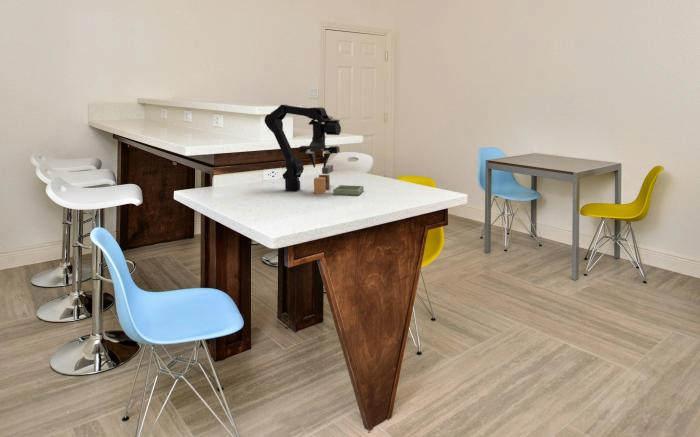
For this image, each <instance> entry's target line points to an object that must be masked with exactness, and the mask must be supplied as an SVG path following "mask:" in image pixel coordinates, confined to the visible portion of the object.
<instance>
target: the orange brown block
mask: <svg viewBox="0 0 700 437" xmlns="http://www.w3.org/2000/svg"><path fill="white" fill-rule="evenodd" d="M326 192H327V190H326V177H319V176H316V177H314V178H313V193H314V194H324V193H326Z"/></svg>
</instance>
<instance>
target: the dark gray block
mask: <svg viewBox="0 0 700 437" xmlns="http://www.w3.org/2000/svg"><path fill="white" fill-rule="evenodd" d="M333 171H334V165H332V164H326V167H325V168H324V166H322V167H321V175H330V173H332V172H333Z"/></svg>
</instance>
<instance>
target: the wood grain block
mask: <svg viewBox="0 0 700 437" xmlns="http://www.w3.org/2000/svg"><path fill="white" fill-rule="evenodd" d="M318 177H326V191H330V188H331V185H330V184H331V183H330V182H331V181H330V174H319V175H318Z"/></svg>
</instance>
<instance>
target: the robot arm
mask: <svg viewBox="0 0 700 437" xmlns="http://www.w3.org/2000/svg"><path fill="white" fill-rule="evenodd" d="M287 114H289V115H296V116H303V117H306V118H308V119H311V120H310V121H309V122H308V123H307V124H308V125H311V126H312V137H311V139H312V140H311V142H310V143H309V145H300V146H299V147H298V153H305V155H307V156H308V157H309V159H310V161H311V163H312V166H313V168H316V153H320V152H324V153H323V167H324V168H325V167H326V166H327V165H328V164H327V163H328V160H329V159H330V156H331V155H333V154H338V153H340V146H338V145H335V146H333V145H332V146H329V147H326V145H327V144H326V139H327V138H326V135H328V136H340V134H341V132H342V127H341V124H340V120H339V119H336V120H331V118H330V117H329V115H328V114H327V111H326V108H325V107H322V106H321V107H320V106H319V107H318V106H317V107H303V106H297V105H289V104H280V105H279V106H278V107H277V108H276V109H274V110H273V111H271V112H270V113H269V114H266V115H265V117H264V119H263V120H264V124H265V125H266V127H267V128H268V130H270V132H272V134H273V135H274V138H275V139H276V142H277V144H278V146H279V149H280V150H281V152H282V155H283V157H284V160H285V168H286V169H285V170H286V171H284V173H283V174H282V178H283V180H284V184H285V189H284V190H283V191H284V192H296V193H297V192H299V191H301V180H300V178H301V176H302V174H303V172H304V170H305V167H304V166H305V164H303V162H302V158H300V157H299V158H297V157H296V155H295V154H294V152H293V149H292V147H291V145H290V142H289V140H288V138H287V136H286V134H285V131H284V122H283V120H284V119H285V118H286V116H287Z"/></svg>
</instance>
